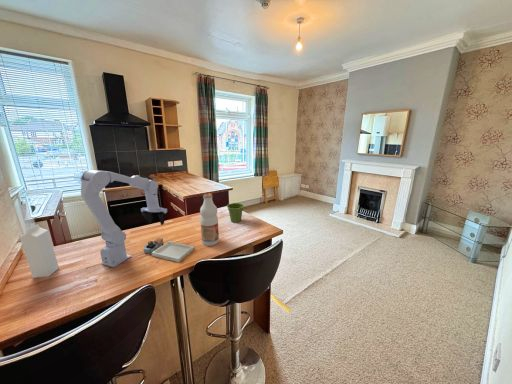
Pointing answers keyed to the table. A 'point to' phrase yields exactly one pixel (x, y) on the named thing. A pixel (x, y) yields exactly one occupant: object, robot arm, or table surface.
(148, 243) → the knob
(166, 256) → the tray
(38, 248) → the milk
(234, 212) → the plant pot
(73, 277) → the table surface
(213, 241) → the fruit juice
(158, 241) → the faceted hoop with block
